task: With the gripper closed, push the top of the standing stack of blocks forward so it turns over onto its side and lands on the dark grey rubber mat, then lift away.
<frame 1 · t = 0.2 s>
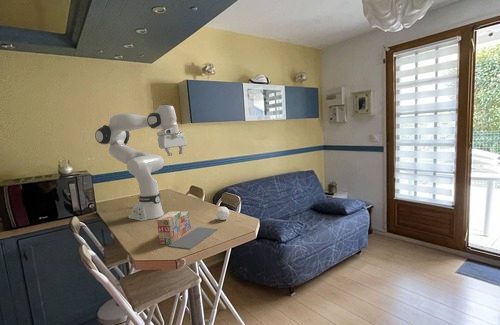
hand: (175, 154, 158), 39 cm above the table, tool pointing down, fingers open, 8 cm apart
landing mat: (194, 237, 130), on the table
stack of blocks: (176, 236, 135), on the table
geometric ball: (223, 219, 155), on the table
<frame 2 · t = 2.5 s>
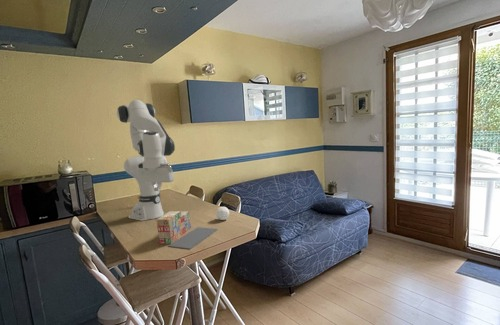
hand: (157, 190, 136), 23 cm above the table, tool pointing down, fingers closed
nothing on the table moved.
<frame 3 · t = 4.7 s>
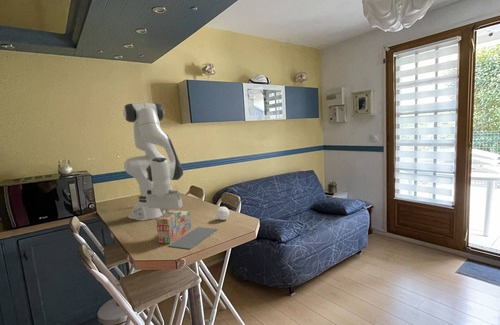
hand: (165, 216, 136), 9 cm above the table, tool pointing down, fingers closed
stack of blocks: (175, 235, 136), on the table, touching gripper
everything else where it was.
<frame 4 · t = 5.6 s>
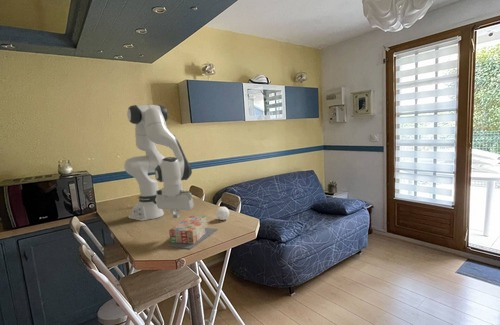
hand: (176, 217, 133), 9 cm above the table, tool pointing down, fingers closed
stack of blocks: (180, 228, 135), point 3 cm above the table, touching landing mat
everything else where it was.
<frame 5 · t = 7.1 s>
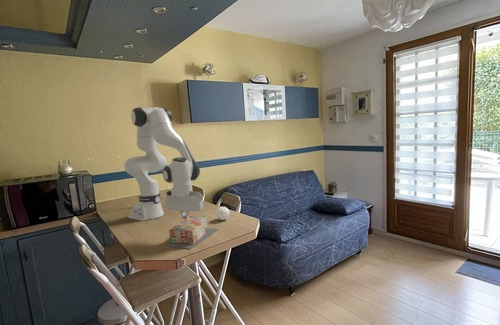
hand: (185, 218, 131), 9 cm above the table, tool pointing down, fingers closed
nothing on the table moved.
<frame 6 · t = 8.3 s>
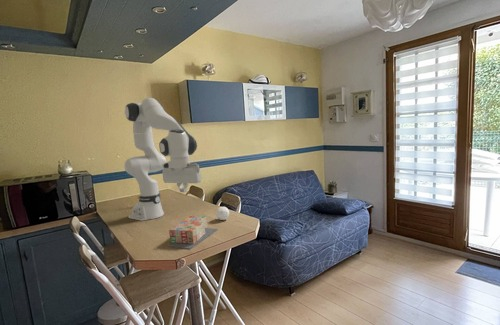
hand: (183, 191, 129), 23 cm above the table, tool pointing down, fingers closed
nothing on the table moved.
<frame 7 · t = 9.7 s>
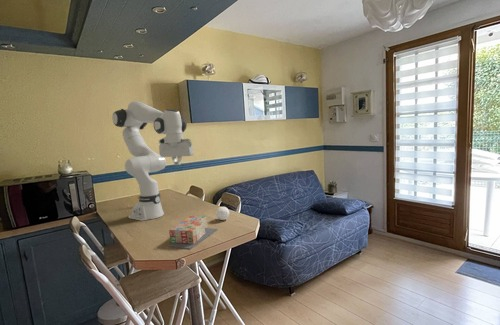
hand: (177, 164, 146), 34 cm above the table, tool pointing down, fingers closed
nothing on the table moved.
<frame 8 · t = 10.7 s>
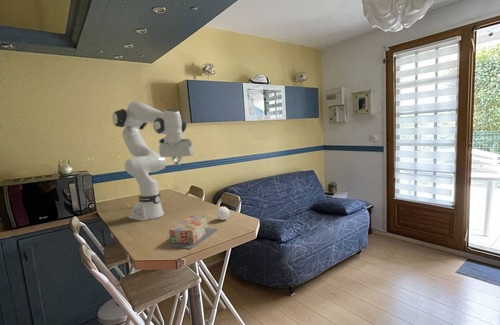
hand: (177, 164, 146), 34 cm above the table, tool pointing down, fingers closed
nothing on the table moved.
at the end: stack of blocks tilted 90°; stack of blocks inside the target area (4.9 cm from its centre), point 3.5 cm above the table; the gripper is holding nothing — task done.
